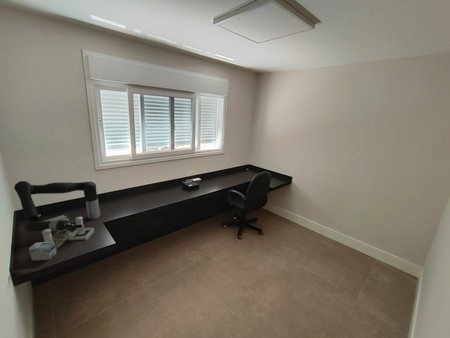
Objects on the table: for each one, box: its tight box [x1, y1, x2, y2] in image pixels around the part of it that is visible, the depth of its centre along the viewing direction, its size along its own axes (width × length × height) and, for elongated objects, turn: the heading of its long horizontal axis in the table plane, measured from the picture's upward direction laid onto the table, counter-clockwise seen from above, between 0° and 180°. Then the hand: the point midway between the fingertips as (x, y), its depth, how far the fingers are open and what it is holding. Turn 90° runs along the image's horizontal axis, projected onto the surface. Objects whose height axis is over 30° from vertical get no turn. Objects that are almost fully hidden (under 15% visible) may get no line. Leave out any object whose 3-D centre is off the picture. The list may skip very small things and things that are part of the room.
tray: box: [67, 227, 95, 242], centre depth 153 cm, size 12×12×4 cm
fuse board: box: [52, 230, 75, 251], centre depth 144 cm, size 21×12×4 cm, turn 9°
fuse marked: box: [74, 216, 86, 236], centre depth 150 cm, size 5×5×13 cm
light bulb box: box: [28, 241, 57, 262], centre depth 128 cm, size 11×7×11 cm, turn 100°
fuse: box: [41, 229, 53, 242], centre depth 136 cm, size 5×5×13 cm
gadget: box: [45, 214, 70, 221], centre depth 168 cm, size 23×15×4 cm, turn 54°
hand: (83, 224), depth 150 cm, fingers closed on fuse marked, 4 cm apart
